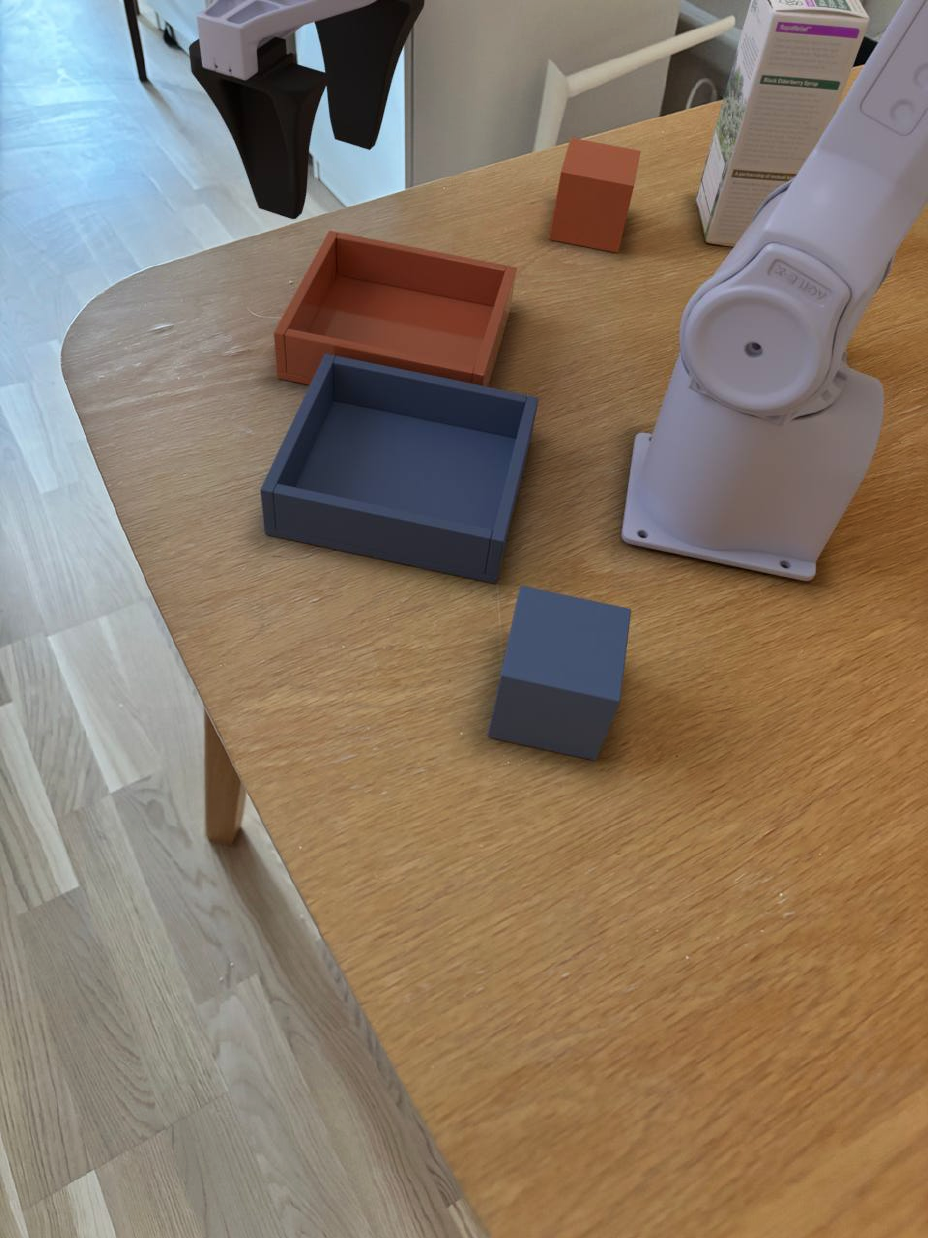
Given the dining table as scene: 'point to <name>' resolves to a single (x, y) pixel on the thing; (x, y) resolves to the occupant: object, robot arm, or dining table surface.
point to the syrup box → (775, 105)
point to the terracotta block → (594, 194)
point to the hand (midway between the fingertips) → (319, 174)
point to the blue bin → (401, 468)
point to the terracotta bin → (395, 311)
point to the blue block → (561, 673)
